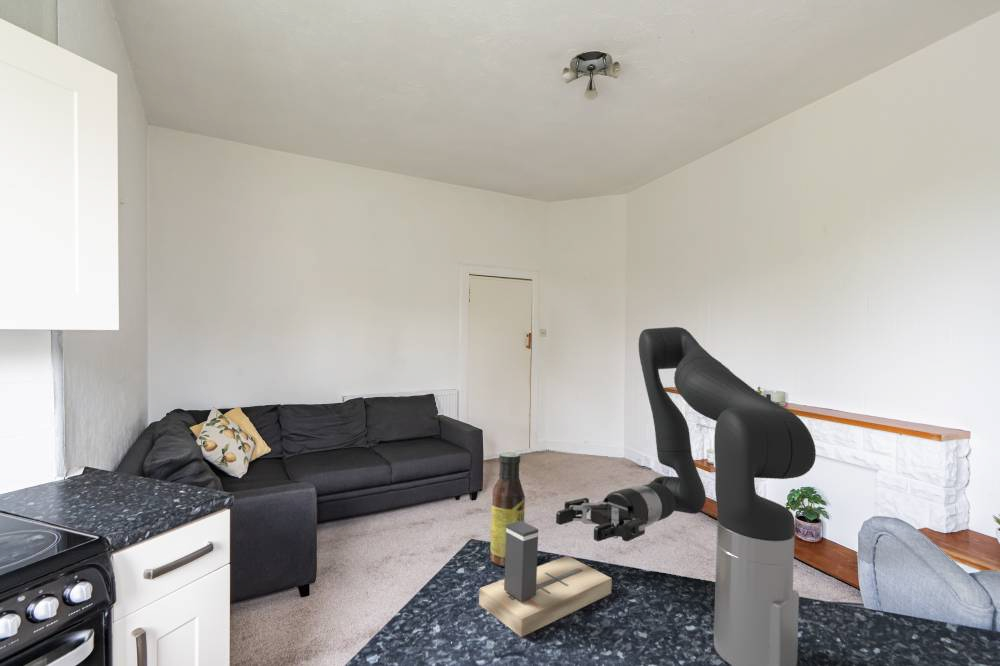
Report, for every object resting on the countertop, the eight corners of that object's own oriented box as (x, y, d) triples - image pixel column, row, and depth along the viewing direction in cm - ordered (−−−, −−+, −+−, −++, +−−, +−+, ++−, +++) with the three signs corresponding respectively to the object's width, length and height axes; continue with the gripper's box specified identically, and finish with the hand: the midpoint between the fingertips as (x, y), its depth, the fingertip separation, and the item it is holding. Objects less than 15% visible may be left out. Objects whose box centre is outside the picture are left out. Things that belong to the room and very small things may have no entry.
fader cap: (536, 595, 71) (538, 529, 71) (521, 601, 69) (523, 533, 69) (518, 583, 74) (521, 520, 74) (503, 589, 72) (506, 524, 72)
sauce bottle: (523, 569, 85) (527, 459, 85) (488, 567, 85) (493, 458, 85) (522, 553, 91) (526, 451, 92) (490, 551, 91) (494, 450, 92)
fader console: (611, 593, 78) (611, 577, 78) (521, 637, 65) (521, 618, 65) (566, 569, 85) (567, 555, 86) (478, 604, 73) (479, 587, 73)
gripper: (603, 479, 95) (546, 492, 85) (666, 498, 84) (610, 516, 74) (602, 517, 95) (545, 534, 85) (665, 541, 84) (609, 564, 73)
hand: (575, 526), depth 79 cm, fingers open, 8 cm apart
